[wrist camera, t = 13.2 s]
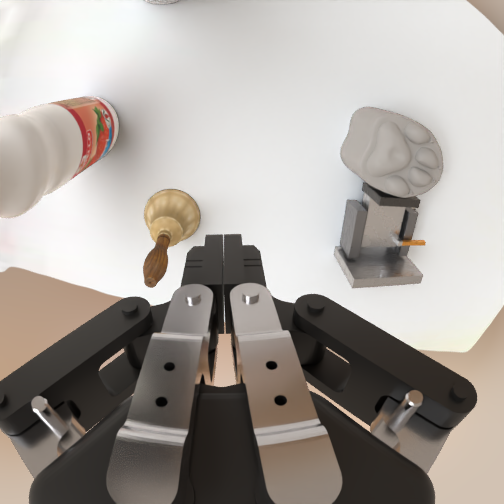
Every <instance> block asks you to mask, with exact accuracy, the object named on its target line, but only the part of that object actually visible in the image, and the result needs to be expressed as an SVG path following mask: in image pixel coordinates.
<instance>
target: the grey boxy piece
mask: <svg viewBox="0 0 504 504" xmlns="http://www.w3.org/2000/svg"><path fill="white" fill-rule="evenodd" d="M362 190H363V191H364V194H363V200H362V206H363V207H364V208H365V209H366V210H367V211H368V212H367V217H366V222H365V227H364V232H363V237H362V242H361V246H360V247H396V245H397V246H409V245H425V243H426V242H425V241H424V240H401V239H400V238H399V233H400V229H401V225H402V221H403V217H404V212H405V208H406V207H412V208H418V207H419V203H420V199H418V198H417V197H416V196H413V197H408V198H402V197H397V196H394V195H391V194H388V193H385V192H382V191H381V190H379V189H376V188H374V187H372V186H371V185H369V184H368V183H363V188H362Z"/></svg>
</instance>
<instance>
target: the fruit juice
mask: <svg viewBox="0 0 504 504" xmlns="http://www.w3.org/2000/svg"><path fill="white" fill-rule="evenodd" d="M118 131H119V122H118V117H117V114H116V112H115V110H114V109H113V107H112V106H111V105H110V104H109V103H108V102H107V101H105V100H104V99H101V98H99V97H94V96H86V97H80V98H74V99H68V100H62V101H57V102H52V103H48V104H42V105H38V106H35V107H32V108H29V109H27V110H25V111H23V112H21V113H20V114H19V115H16V114H12V115H5V116H2V117H0V218H14V217H18V216H20V215H22V214H24V213H26V212H27V211H29V210H30V209H32V208H33V207H34V206H35V205H36V204H37V203H38V202H39V201H40V200H41V198H42V197H43V196H44V195H47V194H50V193H52V192H54V191H55V190H57V189H59V188H60V187H62V186H63V185H65V184H66V183H67V182H68V181H70V180H71V179H72V178H74V177H75V176H77V175H78V174H79V173H81V172H82V171H84V170H85V169H86V168H88V167H89V166H91V165H92V164H94V163H95V162H97V161H98V160H100V159H101V158H103V157H104V156H105V155H106V154H107V153H108V152H109V151H110V150H111V149H112V147H113V146H114V144H115V142H116V139H117V136H118Z"/></svg>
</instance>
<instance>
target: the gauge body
mask: <svg viewBox="0 0 504 504" xmlns="http://www.w3.org/2000/svg"><path fill="white" fill-rule="evenodd" d="M415 210H416V209H415V208H412V207H406V208H405V212H404V217H403V221H402V225H401V229H400V233H399V238H400V239H401V240H411V239H412V236H413V232H414V228H415V224H416V220H417V216H418V213H417V212H416V211H415ZM367 212H368V211H367V210H366V209H365V208H364V207H363V206H362V205H361V204H360V203H359V202H358V201H357V200H347V204H346V210H345V216H344V222H343V228H342V234H341V240H340V245H341V246H335V251H334V256H335V258H336V259H337V261H338V263H339V265H340V267H341V268H342V270H343V272H344V274H345V276H346V278H347V280H348V281H349V283H350V285H351V287H352V288H363V287H378V286H392V285H405V284H418V283H421V280H422V277H423V274H422V273H421V272H420V271H419V270H418V268H417V267H416V266H415V265H414V264H413V262H412V261H411V260H410V259H409V258H408V256H407V253H408V250H409V246H410V245H409V246H397V245H396V247H360V246H361V242H362V237H363V232H364V227H365V222H366V217H367Z"/></svg>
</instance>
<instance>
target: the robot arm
mask: <svg viewBox="0 0 504 504" xmlns="http://www.w3.org/2000/svg"><path fill="white" fill-rule="evenodd" d="M144 1H146V2H149V3H152V4H158V5H159V4H170V3H174V2H177V1H180V0H144ZM224 302H225V324H226V334H230V333H231V345H232V357H233V364H234V371H235V377H236V385H231V386H227V387H216V386H214V377H215V368H216V359H217V344H218V334H224ZM326 347H328V348H329V349H331V350H332V351H334V352H335V353H337V354H338V355H340V356H342V357H343V358H345V359H346V360H347V361H348V362H349V363H350V364H349V363H347V362H346V361H344V360H343V359H341V358H340V357H338V356H337V355H335V354H334V353H332V352H330V351H329V350H327V349H326ZM122 348H124V351H125V352H124V353H122V354H121V355H120V356H118V357H117V358H116V359H115V360H113V361H112V362H111V363H109V364H108V365H106V366H105V367H104V368H102V369H101V370H100V371H99V368H100V366H101V365H102V364H103V363H104V362H105V361H106V360H108V359H109V358H110V357H112V356H113V355H114V354H116V353H117V352H118V351H120V350H121V349H122ZM306 381H307V382H308V383H310V384H311V385H312V386H314V387H315V388H317V389H318V390H319V391H321V392H322V393H324V394H325V395H326V396H328V397H329V398H330V399H332V400H333V401H334V402H336V403H337V404H339V405H340V406H342V407H343V408H344V409H346V410H347V411H349V412H351V413H352V414H353V415H354V416H356V417H357V418H359V419H360V420H362V421H363V422H365V423H366V424H368V425H369V426H370V431H371V433H370V432H369V431H367V430H366V429H365V428H363V427H362V426H361V425H359V424H358V423H357V422H355V421H354V420H353V419H351V418H350V417H348V416H347V415H346V414H345V413H343V412H342V411H340V410H339V409H338V408H337V407H335V406H334V405H333V404H332V403H330V402H329V401H328V400H326V399H325V398H323V397H322V396H320V395H318V394H316V393H313V392H312V391H309V389H308V386H307V383H306ZM132 394H134V395H133V396H131V395H132ZM130 396H131V397H130ZM476 403H477V393H476V390H475V388H474V386H473V385H472V384H471V383H470V382H469V381H468V380H467V379H465V378H464V377H462V376H460V375H459V374H457V373H455V372H453V371H452V370H450V369H448V368H447V367H445V366H443V365H441V364H440V363H438V362H436V361H435V360H433V359H431V358H429V357H428V356H426V355H424V354H422V353H421V352H419V351H417V350H416V349H414V348H412V347H411V346H409V345H407V344H405V343H404V342H402V341H400V340H399V339H397V338H395V337H394V336H392V335H390V334H388V333H387V332H385V331H383V330H382V329H380V328H378V327H376V326H375V325H373V324H371V323H370V322H368V321H366V320H365V319H363V318H361V317H359V316H358V315H356V314H354V313H353V312H351V311H349V310H347V309H346V308H344V307H342V306H341V305H339V304H337V303H336V302H334V301H332V300H330V299H329V298H327V297H325V296H322V295H318V294H307V295H304V296H301V297H300V298H298V299H297V300H296V302H295V303H289V302H284V301H281V300H278V299H276V298H274V297H273V296H272V295H271V293H270V291H269V290H268V289H267V287H266V282H265V276H264V271H263V266H262V260H261V255H260V251H259V250H258V249H257V248H256V247H255V246H254V245H243V246H242V237H241V234H224V255H223V235H206V237H205V245H204V246H194V247H193V248H192V249H191V250H190V251H189V252H188V253H187V258H186V263H185V268H184V273H183V278H182V283H181V287H180V288H179V289H177V290H176V291H175V292H174V294H173V296H172V299H171V301H169V302H167V303H164V304H160V305H156V306H151V307H150V304H149V302H148V301H147V300H146V299H144V298H141V297H127V298H124V299H122V300H120V301H118V302H117V303H115V304H114V305H112V306H110V307H109V308H108V309H106V310H104V311H103V312H101V313H100V314H98V315H97V316H95V317H94V318H92V319H91V320H89V321H88V322H86V323H85V324H83V325H82V326H80V327H79V328H77V329H76V330H74V331H73V332H71V333H70V334H68V335H67V336H65V337H64V338H62V339H61V340H59V341H58V342H56V343H55V344H53V345H52V346H50V347H49V348H47V349H46V350H44V351H43V352H42V353H40V354H39V355H37V356H36V357H34V358H33V359H32V360H30V361H29V362H27V363H26V364H24V365H23V366H21V367H20V368H19V369H17V370H16V371H14V372H13V373H11V374H10V375H8V376H7V377H6V378H4V379H3V380H2V381H0V429H1V430H2V432H3V433H5V434H6V435H7V436H8V437H9V438H10V439H11V441H12V443H13V445H14V446H15V448H16V450H17V452H18V453H19V455H20V457H21V458H22V460H23V462H24V463H25V465H26V467H27V468H28V470H29V471H30V473H31V474H32V476H33V478H34V481H33V483H32V485H31V488H30V494H29V504H435V492H434V488H433V484H432V482H431V480H430V478H429V477H428V475H427V473H428V471H429V470H430V468H431V466H432V465H433V463H434V461H435V460H436V458H437V456H438V454H439V452H440V451H441V449H442V447H443V445H444V443H445V441H446V440H447V437H448V436H449V434H450V432H451V431H452V430H453V429H454V428H455V427H456V426H457V425H458V424H459V423H460V422H461V421H462V420H463V419H464V417H466V416H467V415H468V414H469V412H470V411H471V410H472V409H473V408H474V407H475V405H476ZM99 421H100V422H99ZM98 422H99V423H98ZM94 425H95V426H94ZM93 426H94V427H93ZM92 427H93V428H92ZM91 428H92V429H91ZM89 429H91V430H89ZM88 430H89V431H88ZM87 431H88V432H87ZM86 432H87V433H86Z"/></svg>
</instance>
